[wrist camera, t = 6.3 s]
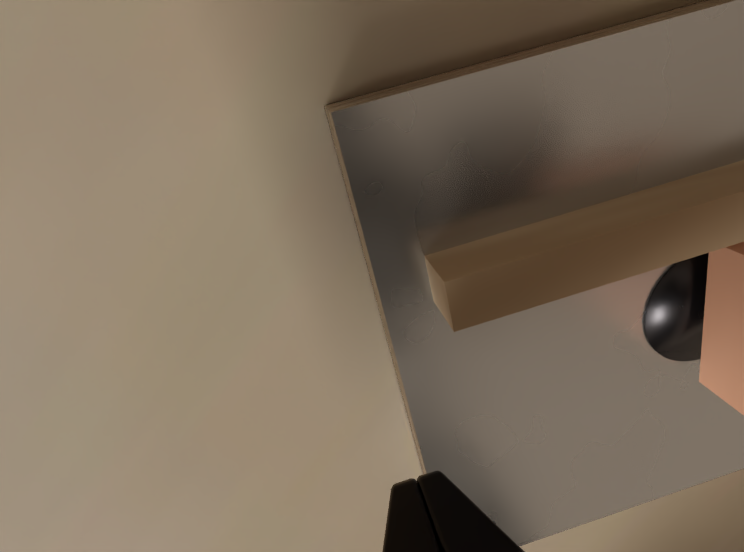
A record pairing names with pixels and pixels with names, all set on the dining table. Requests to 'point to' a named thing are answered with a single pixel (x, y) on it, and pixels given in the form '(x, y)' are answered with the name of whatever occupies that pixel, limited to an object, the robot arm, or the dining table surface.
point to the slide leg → (724, 326)
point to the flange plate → (567, 315)
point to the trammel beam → (588, 247)
